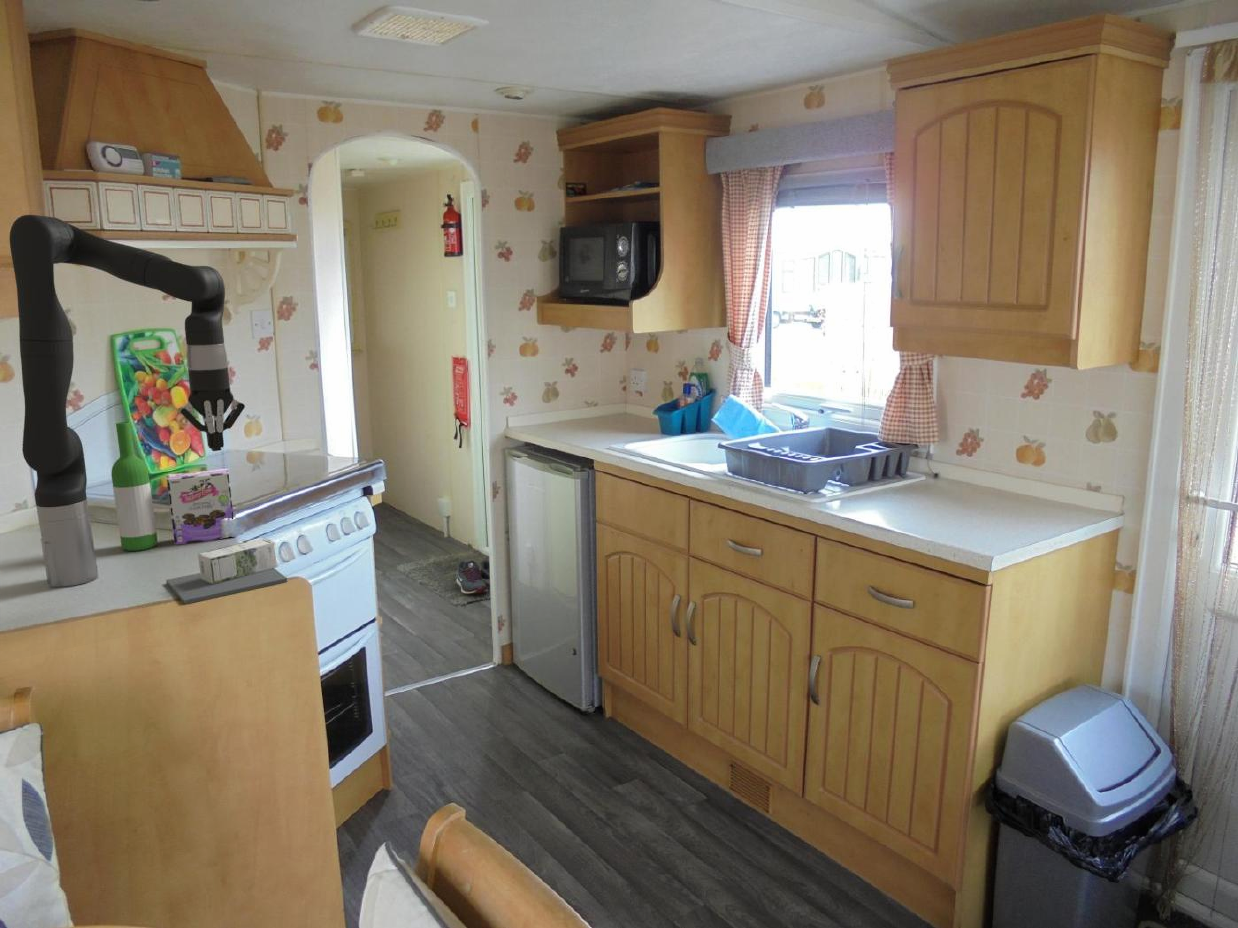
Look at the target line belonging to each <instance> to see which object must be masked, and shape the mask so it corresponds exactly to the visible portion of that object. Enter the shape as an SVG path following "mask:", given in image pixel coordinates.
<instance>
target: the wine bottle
mask: <svg viewBox="0 0 1238 928" xmlns="http://www.w3.org/2000/svg"><path fill="white" fill-rule="evenodd" d="M115 426H116V435H117V441H118V451H119V458H118V459H117V460H115V462H114V463H113V465H112V467H111V481H112V490H113V496H114V502H115V509H116V517H117V523H118V531H119V537H120V538H119V539H120V545H121V548H122V549H123V550H124V551H128V552H139V551H144V550H145V551H146V550H148V549H152V548H154V547H156V545H157V543H158V534H157V525H156V518H155V511H154V504H153V503H154V502H153V497H152V489H151V482H150V476H149V468H148V466H147V464H146V463H145V462H144V461H143V460H142V458H140V457H138V456H137V455H136V453H135V448H134V441H133V434H132V428H131V422H129V421H120V422H119V421H118V422H116V423H115Z"/></svg>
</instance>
